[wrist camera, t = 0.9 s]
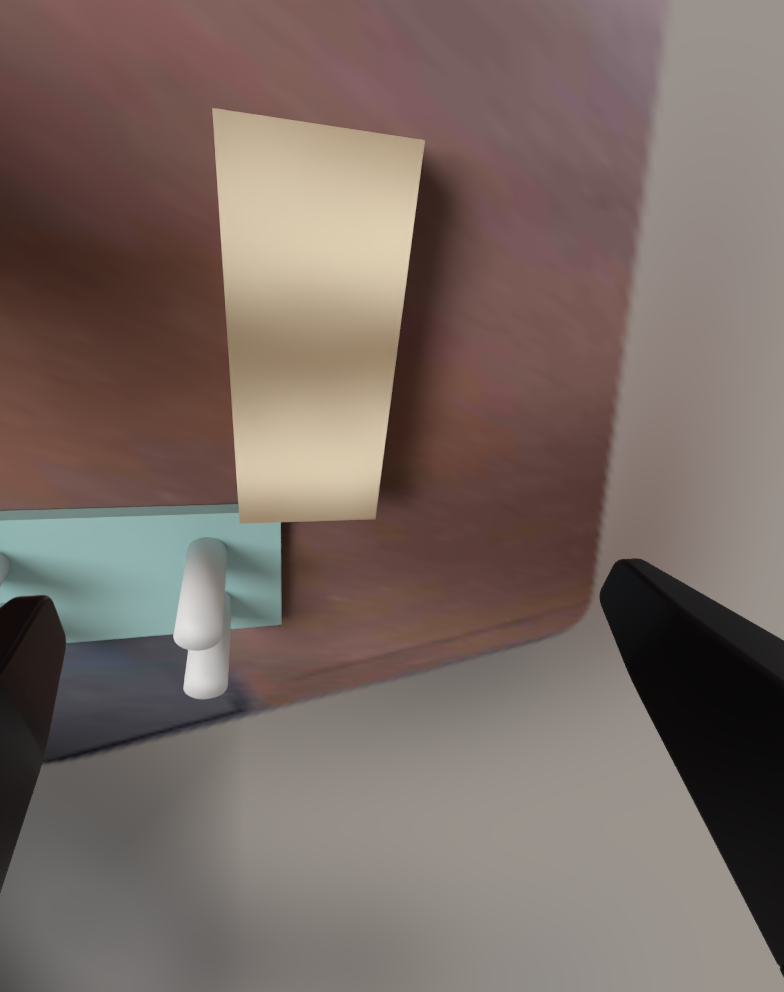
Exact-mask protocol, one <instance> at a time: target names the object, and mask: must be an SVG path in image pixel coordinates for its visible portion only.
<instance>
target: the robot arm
mask: <svg viewBox="0 0 784 992" xmlns="http://www.w3.org/2000/svg"><path fill="white" fill-rule="evenodd" d="M600 603H601V606H602V608H603V611H604V614H605V616H606V619H607V621H608V623H609V626H610V628H611V631H612V634H613V636H614V638H615V641H616V643H617V646H618V648H619V651H620V653H621V656H622V658H623V661H624V663H625V666H626V668H627V671H628V673H629V675H630V677H631V680H632V682H633V684H634V686H635V688H636V690H637V693H638V695H639V696H640V698H641V700H642V702H643V704H644V706H645V708H646V710H647V712H648V714H649V716H650V718H651V720H652V722H653V723H654V725H655V728H656V729H657V731H658V733H659V735H660V737H661V739H662V741H663V743H664V745H665V747H666V749H667V751H668V753H669V755H670V757H671V758H672V760H673V762H674V764H675V766H676V768H677V770H678V772H679V774H680V776H681V778H682V780H683V782H684V784H685V786H686V787H687V790H688V792H689V793H690V795H691V797H692V799H693V801H694V803H695V805H696V807H697V809H698V811H699V813H700V815H701V817H702V818H703V821H704V822H705V824H706V826H707V828H708V830H709V832H710V834H711V836H712V838H713V840H714V842H715V844H716V846H717V848H718V850H719V852H720V854H721V855H722V857H723V859H724V861H725V863H726V865H727V867H728V869H729V871H730V873H731V875H732V877H733V879H734V881H735V883H736V885H737V887H738V889H739V891H740V892H741V894H742V896H743V898H744V900H745V902H746V904H747V906H748V908H749V910H750V912H751V914H752V916H753V917H754V920H755V922H756V924H757V925H758V927H759V929H760V931H761V933H762V935H763V937H764V939H765V941H766V943H767V945H768V947H769V949H770V951H771V953H772V954H773V956H774V958H775V960H776V962H777V964H778V965H779V966H780V971H781V973H782V975H783V977H784V640H782V639H780V638H778V637H777V636H775V635H773V634H771V633H770V632H768V631H766V630H764V629H763V628H761V627H759V626H757V625H756V624H754V623H752V622H750V621H749V620H747V619H745V618H743V617H742V616H740V615H738V614H737V613H735V612H733V611H731V610H729V609H728V608H726V607H724V606H723V605H721V604H719V603H717V602H716V601H714V600H712V599H710V598H709V597H707V596H705V595H703V594H701V593H700V592H698V591H696V590H695V589H693V588H691V587H690V586H688V585H686V584H684V583H683V582H681V581H679V580H677V579H675V578H674V577H672V576H670V575H669V574H667V573H665V572H663V571H662V570H660V569H658V568H656V567H654V566H653V565H651V564H649V563H648V562H646V561H644V560H642V559H636V558H635V559H621V560H618V561H617V562H616V563H615V564H614V565H613V567H612V569H611V571H610V573H609V575H608V577H607V579H606V581H605V583H604V585H603V587H602V588H601V591H600ZM65 650H66V635H65V631H64V629H63V626H62V623H61V621H60V618H59V615H58V613H57V610H56V607H55V605H54V602H53V600H52V599H51V598H50V597H49V596H47V595H33V596H18V597H15V598H12V599H11V600H9V601H8V602H6V603H5V604H4V605H3V606H1V607H0V892H1V889H2V886H3V883H4V880H5V877H6V874H7V871H8V868H9V865H10V862H11V859H12V855H13V852H14V849H15V846H16V843H17V840H18V837H19V834H20V831H21V828H22V825H23V822H24V819H25V815H26V812H27V809H28V806H29V803H30V800H31V797H32V794H33V791H34V787H35V785H36V781H37V778H38V775H39V772H40V768H41V765H42V762H43V758H44V754H45V750H46V745H47V741H48V736H49V731H50V726H51V721H52V716H53V711H54V706H55V701H56V696H57V691H58V686H59V681H60V676H61V671H62V666H63V661H64V656H65Z"/></svg>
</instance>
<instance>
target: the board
mask: <svg viewBox="0 0 784 992" xmlns="http://www.w3.org/2000/svg"><path fill="white" fill-rule="evenodd" d="M212 110H213V125H214V141H215V156H216V171H217V186H218V201H219V217H220V232H221V247H222V262H223V277H224V293H225V308H226V323H227V338H228V353H229V368H230V384H231V399H232V414H233V429H234V444H235V460H236V475H237V490H238V505H239V520H240V524H244V523H273V522H303V521H333V520H362V519H375V517H376V509H377V502H378V494H379V487H380V479H381V471H382V464H383V456H384V448H385V441H386V433H387V426H388V418H389V410H390V403H391V395H392V387H393V380H394V372H395V365H396V357H397V349H398V342H399V334H400V327H401V319H402V311H403V304H404V296H405V288H406V281H407V273H408V266H409V258H410V250H411V243H412V235H413V227H414V220H415V212H416V205H417V197H418V189H419V182H420V174H421V166H422V159H423V151H424V144H425V140H420V139H413V138H406V137H400V136H393V135H387V134H380V133H374V132H367V131H360V130H354V129H347V128H341V127H334V126H327V125H321V124H314V123H308V122H301V121H295V120H288V119H281V118H275V117H268V116H262V115H255V114H249V113H242V112H235V111H229V110H222V109H216V108H212Z"/></svg>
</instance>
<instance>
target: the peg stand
mask: <svg viewBox="0 0 784 992" xmlns="http://www.w3.org/2000/svg"><path fill="white" fill-rule="evenodd" d="M33 595H47V596H49V597H50V598H51V599H52V600H53V602H54V605H55V607H56V610H57V613H58V615H59V618H60V621H61V623H62V626H63V629H64V631H65V635H66V643H74V642H86V641H98V640H110V639H121V638H133V637H145V636H156V635H168V634H174V636H173V637H174V641H175V642H176V644H178V645H179V646H180V647H182V648H184V649H187V650H188V657H187V665H186V672H185V680H184V691H185V693H186V694H187V695H189V696H190V697H193V698H196V699H210V698H214V697H217V696H219V695H221V694H223V693H224V692H225V691H226V689H227V687H228V671H229V651H230V631H231V629H238V628H250V627H262V626H273V625H282V621H281V522H273V523H244V524H240V520H239V505H238V504H221V505H186V506H151V507H117V508H82V509H47V510H12V511H0V607H1V606H3V605H4V604H5V603H6V602H8V601H9V600H11V599H12V598H15V597H18V596H33Z"/></svg>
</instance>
